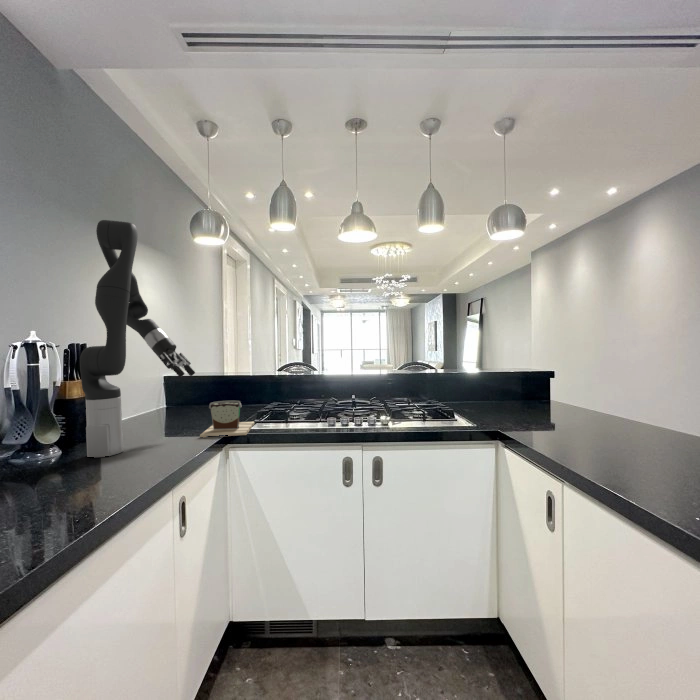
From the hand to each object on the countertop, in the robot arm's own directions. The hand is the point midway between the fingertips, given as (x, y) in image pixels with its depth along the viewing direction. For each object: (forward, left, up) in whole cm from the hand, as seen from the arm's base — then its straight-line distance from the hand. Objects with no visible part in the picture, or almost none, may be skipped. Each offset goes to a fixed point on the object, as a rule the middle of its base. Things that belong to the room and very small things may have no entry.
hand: (188, 375), depth 148 cm
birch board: (-1, -15, -22) cm, 26 cm away
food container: (-1, -14, -21) cm, 25 cm away
